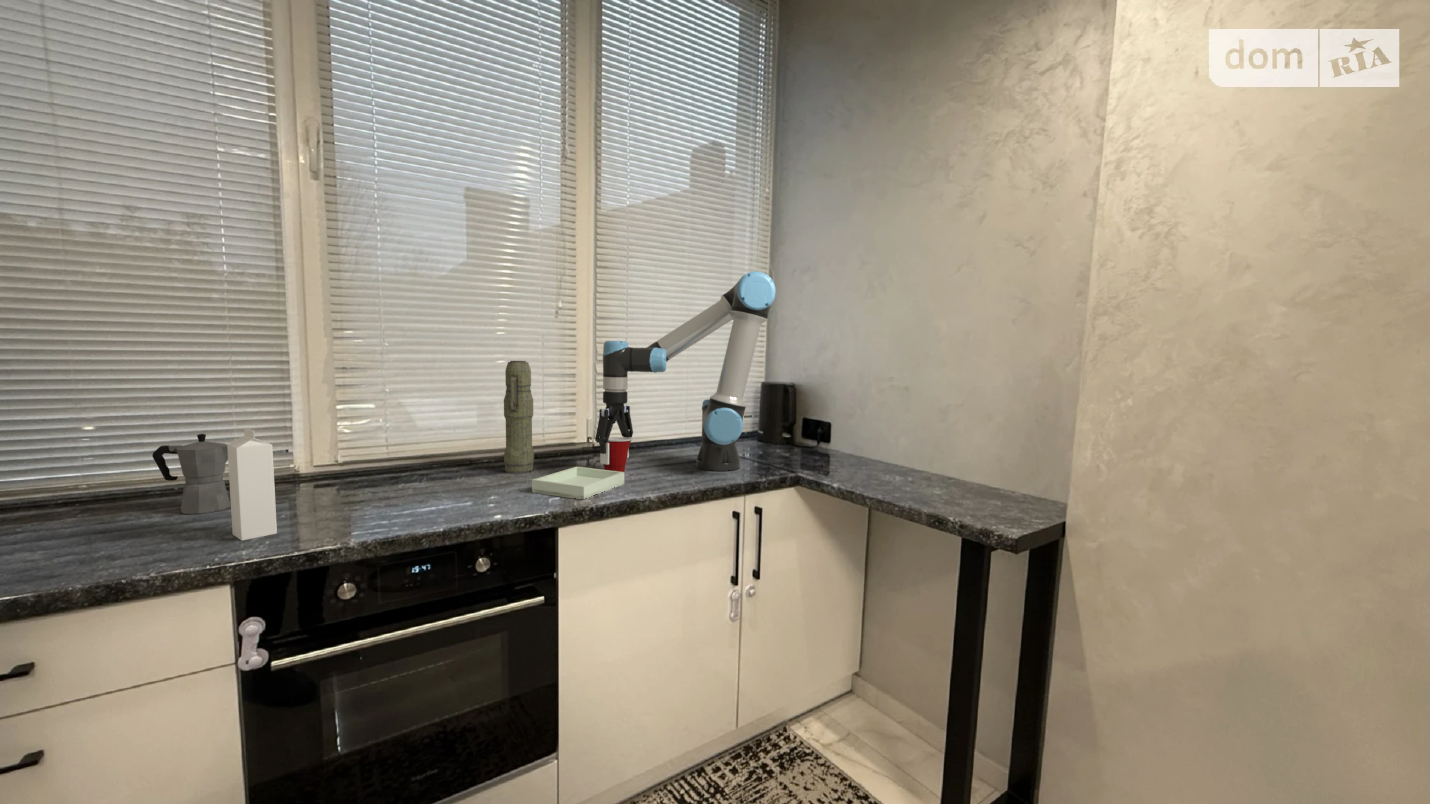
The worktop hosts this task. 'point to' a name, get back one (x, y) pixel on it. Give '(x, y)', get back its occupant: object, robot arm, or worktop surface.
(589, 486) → the tray
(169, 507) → the worktop surface
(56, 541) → the worktop surface
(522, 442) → the thermos
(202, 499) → the coffeepot
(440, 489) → the worktop surface
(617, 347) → the robot arm
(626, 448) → the plastic cup
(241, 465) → the milk
